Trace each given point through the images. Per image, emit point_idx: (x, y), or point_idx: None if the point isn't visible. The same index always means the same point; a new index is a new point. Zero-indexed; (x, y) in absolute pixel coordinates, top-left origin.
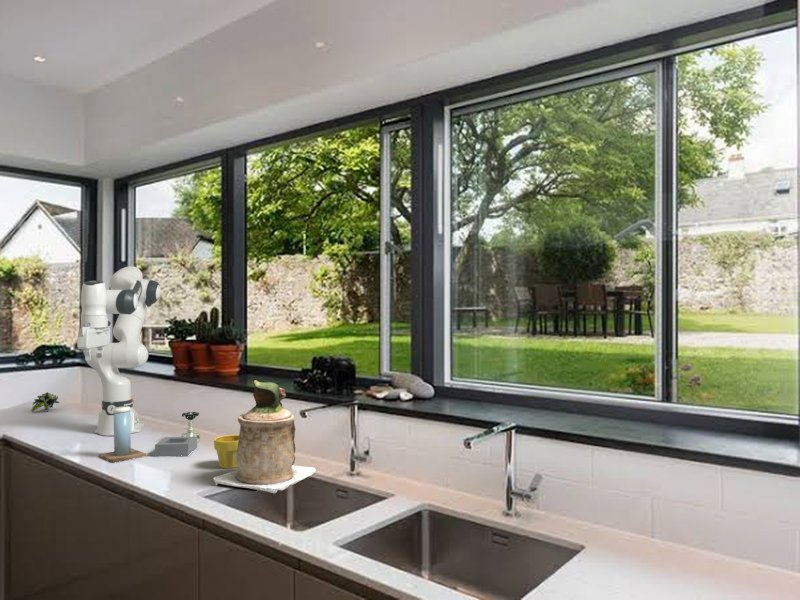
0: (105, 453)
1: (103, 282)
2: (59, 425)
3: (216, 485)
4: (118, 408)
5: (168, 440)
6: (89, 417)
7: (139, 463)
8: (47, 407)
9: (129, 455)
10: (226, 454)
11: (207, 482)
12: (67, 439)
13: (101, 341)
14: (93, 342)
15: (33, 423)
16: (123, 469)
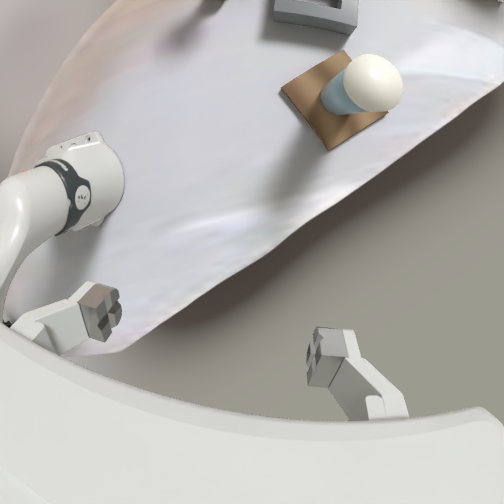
0: (323, 137)
1: None
2: (63, 297)
3: (498, 1)
4: (384, 92)
5: (306, 3)
6: (20, 266)
7: (397, 63)
8: None
9: None
10: None
11: (490, 4)
12: (147, 260)
13: (51, 418)
14: (376, 489)
15: None
16: (432, 92)
